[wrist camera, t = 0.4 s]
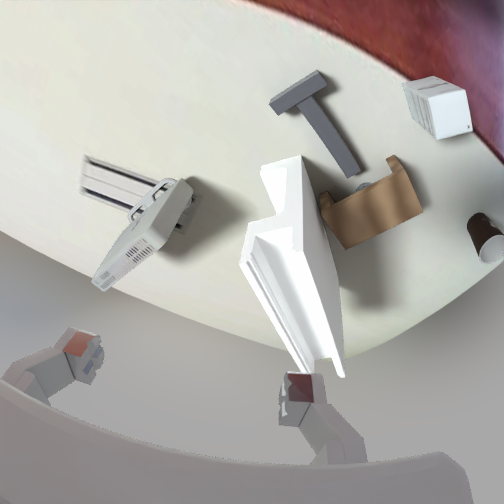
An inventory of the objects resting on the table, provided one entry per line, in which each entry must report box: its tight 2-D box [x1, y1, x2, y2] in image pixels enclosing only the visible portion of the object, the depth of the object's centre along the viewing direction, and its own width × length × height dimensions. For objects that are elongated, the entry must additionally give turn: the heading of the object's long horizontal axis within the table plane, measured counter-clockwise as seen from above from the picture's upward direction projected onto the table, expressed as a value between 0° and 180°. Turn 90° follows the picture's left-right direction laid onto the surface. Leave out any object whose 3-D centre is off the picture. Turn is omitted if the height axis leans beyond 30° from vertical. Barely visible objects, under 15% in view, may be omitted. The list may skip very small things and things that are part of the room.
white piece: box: [239, 155, 345, 377], centre depth 56 cm, size 35×8×28 cm, turn 22°
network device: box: [91, 178, 194, 292], centre depth 60 cm, size 26×9×20 cm, turn 130°
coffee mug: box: [467, 213, 504, 264], centre depth 54 cm, size 12×9×10 cm
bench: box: [319, 155, 423, 250], centre depth 55 cm, size 18×10×8 cm, turn 129°
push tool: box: [269, 70, 361, 179], centre depth 48 cm, size 10×20×4 cm, turn 39°
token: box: [356, 183, 372, 192], centre depth 57 cm, size 5×5×2 cm
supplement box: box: [402, 76, 473, 140], centre depth 37 cm, size 7×7×13 cm
